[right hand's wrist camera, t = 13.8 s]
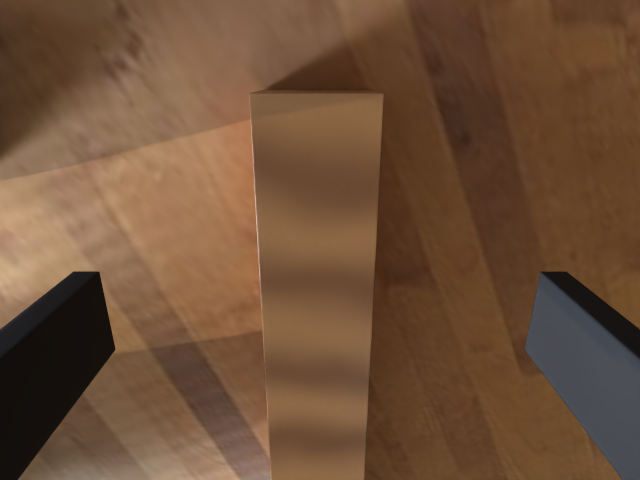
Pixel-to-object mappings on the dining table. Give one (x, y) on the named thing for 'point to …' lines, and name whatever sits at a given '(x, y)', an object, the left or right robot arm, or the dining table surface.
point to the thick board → (317, 273)
